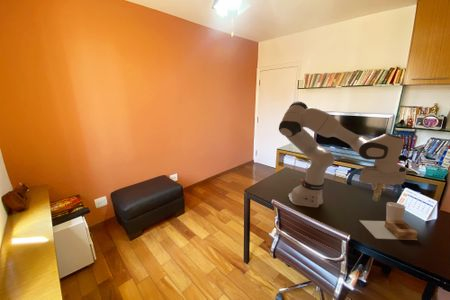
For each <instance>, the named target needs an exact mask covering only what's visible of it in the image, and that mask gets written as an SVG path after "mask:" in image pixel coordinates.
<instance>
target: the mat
mask: <svg viewBox="0 0 450 300" xmlns="http://www.w3.org/2000/svg"><path fill="white" fill-rule="evenodd" d="M359 222H360V223H361V224H362V225H363V226H364V227H365V228H366V229H367V230H368V231H369V233H370V234H371V235H372V236H373V237H374V238H375V239H381V240H399V239H398V238H396V237H395V236H394V235H393V234H392V233H391V232H390V231H389V230H388V229H386V228H385V227H384V225H385V222H386V220H361V219H359ZM403 240H408V241H409V240H410V241H412V240H413V241H418V239H417V238H416V239H403Z"/></svg>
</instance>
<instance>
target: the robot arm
mask: <svg viewBox="0 0 450 300" xmlns="http://www.w3.org/2000/svg"><path fill="white" fill-rule="evenodd" d="M305 128H307V129H308V130H310V131H312V132H314V133H315V134H318V135H319V136H321V137H324V138H331V137H334V138H337V139H338V140H341V142H344V143H346V144H347V145H348V146H349V147H350V148H351V150H352V151H353V152H355V153H356V154H357V155H359V157H360V158H362V159H364V160H367V161H368V160H369V161H370V160H371V161H373V160H374V162H373V165H365V166H364V167H362V169H361V172H360V173H359V177H358V180H359V181H360V182H361V183H363V184H370V185H371V191H373V192H374V191H377V188H376V184H383V188H382V192H386V189H387V188H388V187H390V185H403V184H404V183H405V181H406V178H407V173H406V172H408V168H407V167H406V166H404V165H402V164H399V157H400V156H401V155H402V150H403V145H404V139H403V138H402V137H400V136H399V135H396V134H392V133H383V134H382V135H380V136H377V137H374V138H373V137H372V138H370V136H367V135H365V134H356V133H355V132H353V131H351V130H349V129H348V128H345V127H344V126H342V124H341V123H340V121H339V120H338V119H337V118H336V117H334V116H333V115H331V114H329V113H328V112H326V111H324V110H321V109H318V108H316V107H312V106H310V107H308V106H307V104H306V103H304V102H302V101H299V100H298V101H294V102H292V103H291V104H290V106H289V107H288V109H287V110H286V111H285V113H284V116H283V117H282V119H281V121H280V123H279V125H278V131H279V133H280V134H281V135H283V137H286V138H287V140H288V141H289V142H290V143H291V144H293V145H294V146H295V147H296V148H297V149H298V150H299V151H300V152H301V153H302V154H303V155H304V156H305V157H306V158H307V159H309V160H310V162H311V163H310V166H309V167H307V169H306V172H305V178H304V179H302V178H300V179H299V182H300V183H301V184H300V185H298V186H296V187H294V188H293V189H292V192H289V193H288V197H289V198H288V200H289V201H290V203H292V204H293V205H294V206H301V207H303V206H304V207H309V208H319V207H320V205H322V204H323V203H324V200H323V190H324V185H325V184H324V180H325V174H326V171H327V169H328V168H330V167H331V166H332V165H334V162H335V158H336V157H335V156H334V154H333V153H332V152H331V150H329V149H327V148H325V147H324V146H322V145H320V144H319V143H318V142H317V141H316V140H315V139H314V137H313V136H312V135H311V134H310V133H309V132H308V131H307V130H306V129H305Z"/></svg>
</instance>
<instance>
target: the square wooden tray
mask: <svg viewBox="0 0 450 300" xmlns="http://www.w3.org/2000/svg"><path fill="white" fill-rule="evenodd" d="M385 221H386V222H385V225H384V227H385V228H386V229H388V230H389V231H390V232H391V233H392V234H393V235H394V236H395V237H396V238H398V239H397V240H404V239H417V237H418V235H419V232H418V231H417V230H416V229H414V228H413V227H412V226H410V225H409V224H408V223H407V222H406V221H405V220H402V221H393V220H385Z"/></svg>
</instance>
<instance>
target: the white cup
mask: <svg viewBox="0 0 450 300" xmlns="http://www.w3.org/2000/svg"><path fill="white" fill-rule="evenodd" d="M385 210H386V214H385V215H386V220H393V221H404V216H405V211H406V206H405V205H404V204H401V203H398V202H392V201H388V202H386V207H385ZM386 220H385V221H386Z"/></svg>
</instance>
